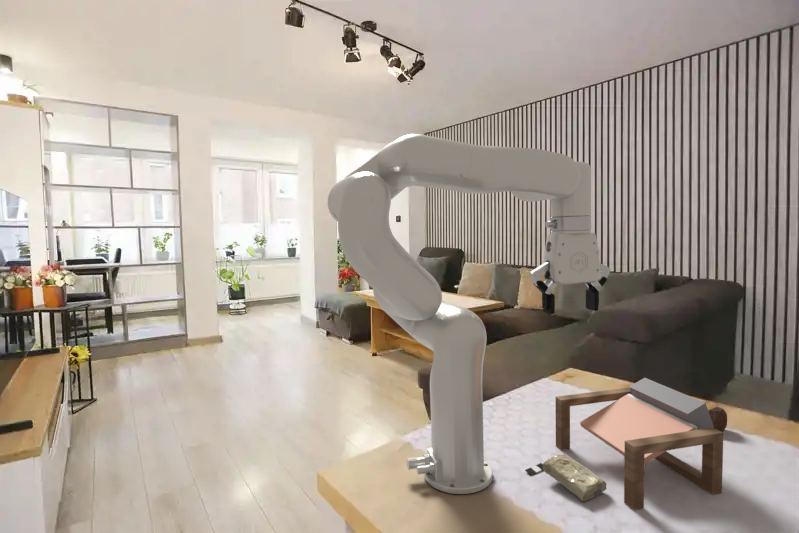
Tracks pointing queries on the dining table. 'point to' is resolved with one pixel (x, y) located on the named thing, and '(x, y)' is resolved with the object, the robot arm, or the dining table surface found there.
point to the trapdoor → (647, 416)
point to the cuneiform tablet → (571, 476)
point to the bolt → (718, 418)
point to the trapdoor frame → (650, 449)
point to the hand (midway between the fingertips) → (570, 311)
